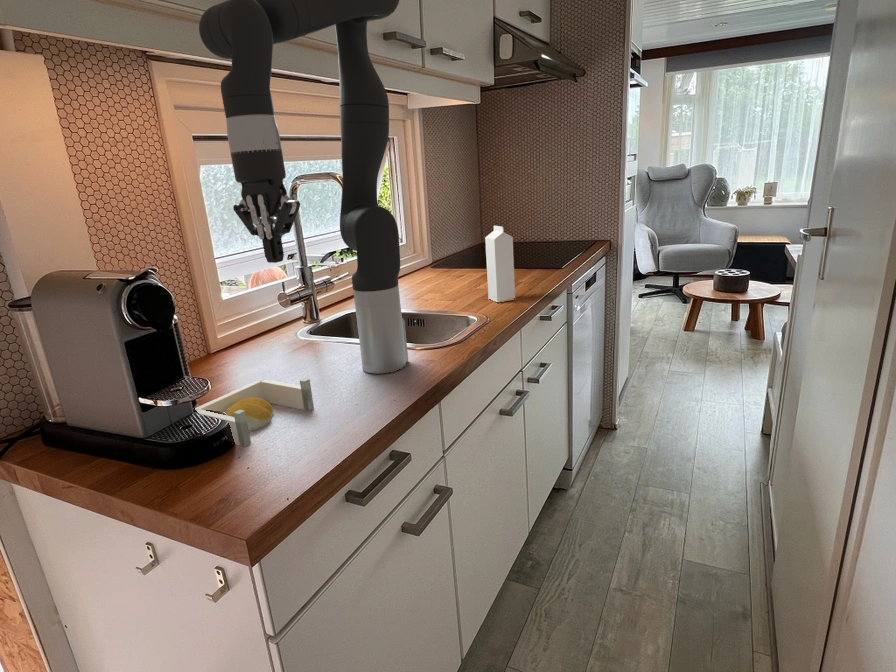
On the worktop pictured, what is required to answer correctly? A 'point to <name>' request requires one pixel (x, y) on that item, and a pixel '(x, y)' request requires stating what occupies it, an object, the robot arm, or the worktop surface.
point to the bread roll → (253, 412)
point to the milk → (500, 265)
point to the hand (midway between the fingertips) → (275, 261)
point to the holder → (265, 390)
